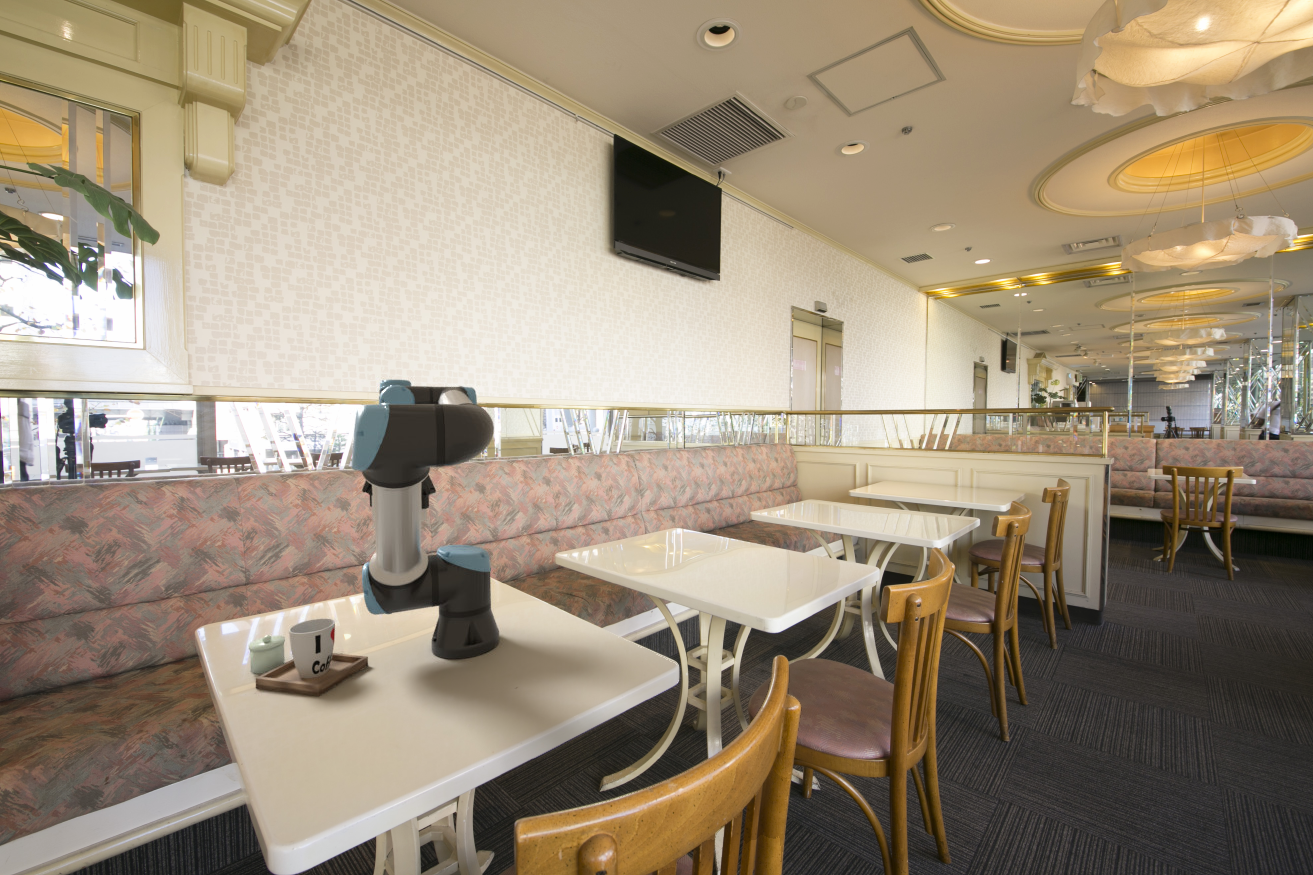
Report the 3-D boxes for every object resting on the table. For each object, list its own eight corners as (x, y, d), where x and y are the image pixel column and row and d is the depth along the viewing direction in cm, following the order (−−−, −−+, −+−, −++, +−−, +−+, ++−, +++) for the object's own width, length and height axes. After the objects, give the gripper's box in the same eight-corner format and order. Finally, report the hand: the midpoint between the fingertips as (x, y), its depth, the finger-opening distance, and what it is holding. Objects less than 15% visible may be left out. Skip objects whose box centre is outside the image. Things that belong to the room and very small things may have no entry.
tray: (368, 665, 118) (367, 656, 118) (318, 696, 106) (318, 686, 105) (310, 659, 122) (310, 650, 121) (255, 687, 109) (255, 678, 109)
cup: (314, 683, 109) (313, 634, 108) (280, 680, 110) (278, 631, 110) (345, 665, 117) (344, 619, 116) (313, 662, 118) (311, 616, 118)
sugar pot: (293, 661, 120) (291, 630, 120) (266, 675, 114) (265, 642, 114) (269, 658, 122) (268, 628, 121) (241, 672, 116) (240, 640, 115)
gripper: (448, 438, 142) (450, 519, 143) (366, 438, 148) (369, 515, 149) (430, 440, 135) (432, 525, 136) (345, 439, 141) (348, 521, 142)
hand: (399, 520), depth 143 cm, fingers open, 13 cm apart
